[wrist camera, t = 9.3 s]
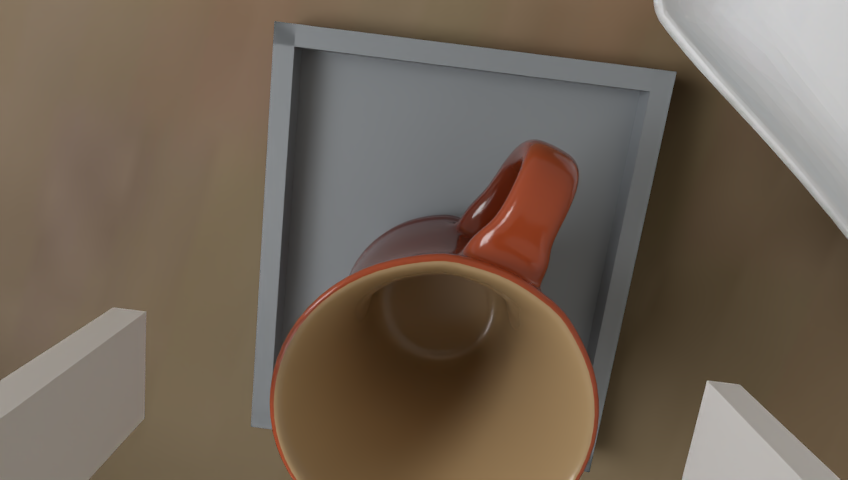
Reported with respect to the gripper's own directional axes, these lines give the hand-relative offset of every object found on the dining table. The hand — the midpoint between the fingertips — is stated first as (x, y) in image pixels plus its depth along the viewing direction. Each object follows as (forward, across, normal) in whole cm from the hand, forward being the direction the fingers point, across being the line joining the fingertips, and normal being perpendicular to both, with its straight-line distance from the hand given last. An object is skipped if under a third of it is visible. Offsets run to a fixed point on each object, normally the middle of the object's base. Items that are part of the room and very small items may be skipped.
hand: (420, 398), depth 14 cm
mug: (+12, +1, 0) cm, 12 cm away
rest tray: (+12, +1, 0) cm, 12 cm away
